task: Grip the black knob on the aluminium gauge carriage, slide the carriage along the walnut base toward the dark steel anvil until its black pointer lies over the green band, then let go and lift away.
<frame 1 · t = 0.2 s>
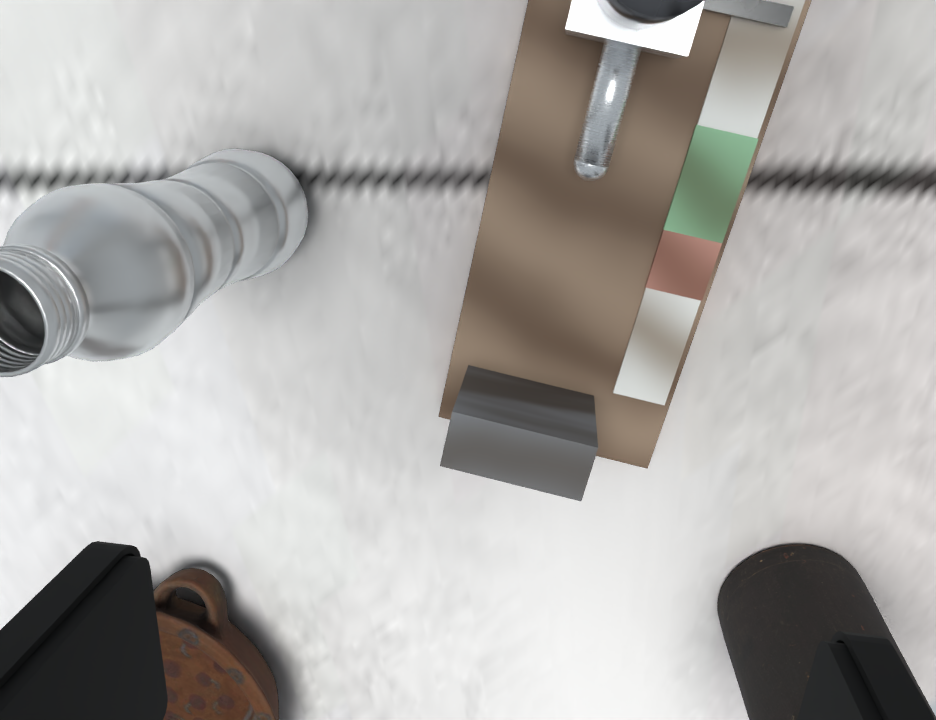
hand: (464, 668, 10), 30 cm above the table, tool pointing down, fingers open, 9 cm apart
plastic bottle: (261, 206, 40), on the table
container: (787, 595, 44), on the table
dish: (189, 670, 53), on the table
gauge base: (610, 190, 37), on the table
gauge carriage: (691, 21, 27), point 7 cm above the table, slide at 0.0 cm
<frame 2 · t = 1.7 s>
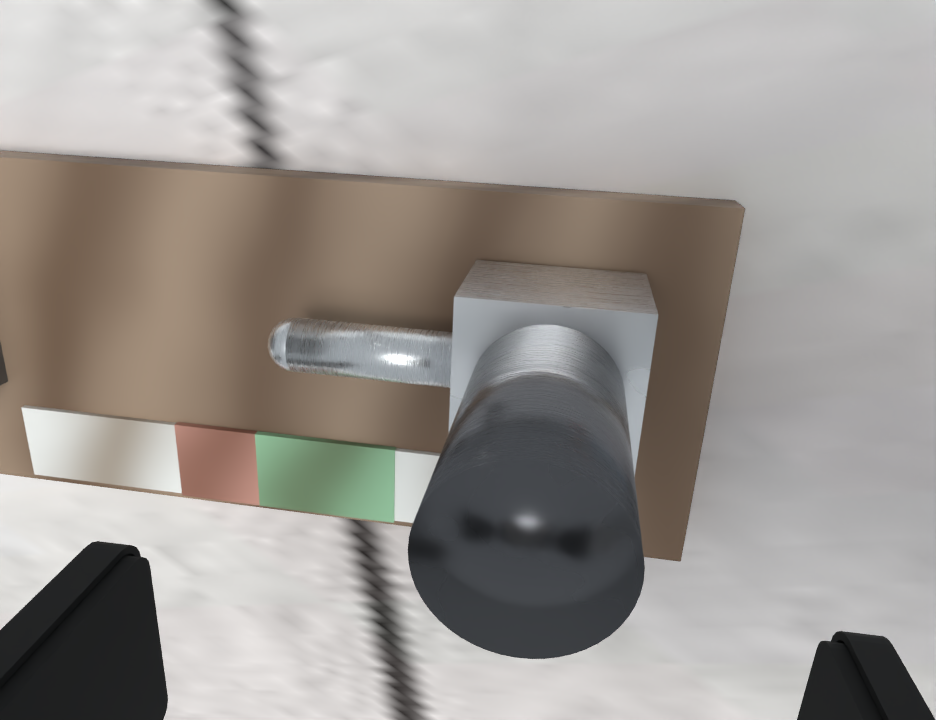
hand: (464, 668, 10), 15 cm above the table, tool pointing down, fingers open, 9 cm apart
gauge base: (297, 343, 26), on the table
gauge carriage: (479, 490, 18), point 7 cm above the table, slide at 0.0 cm
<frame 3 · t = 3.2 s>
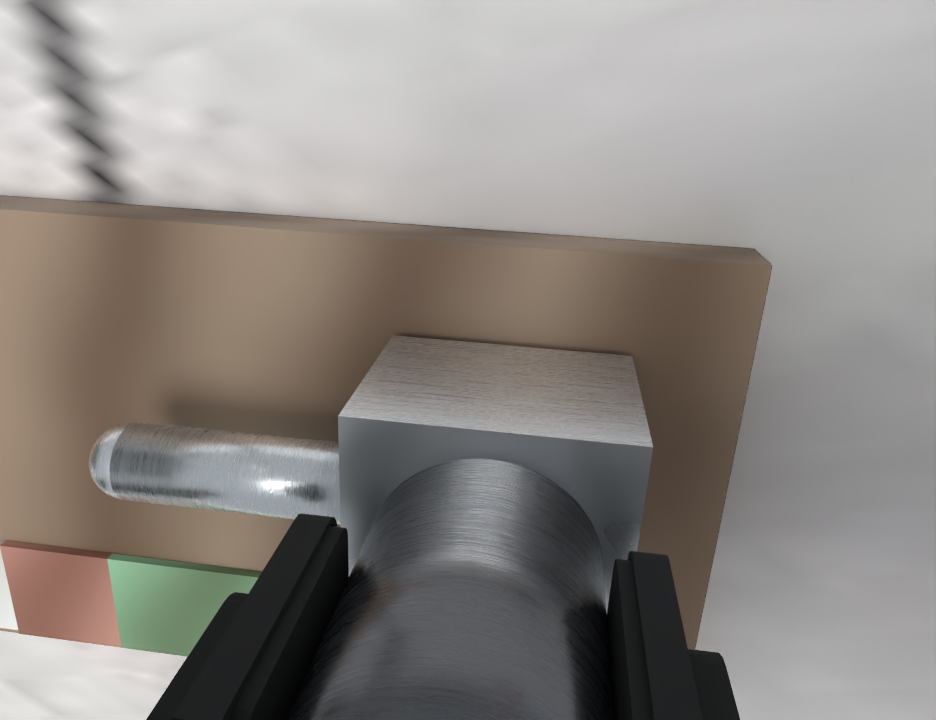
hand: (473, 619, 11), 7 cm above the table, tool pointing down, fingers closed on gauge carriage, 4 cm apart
gauge base: (167, 433, 19), on the table
gauge carriage: (382, 713, 12), point 7 cm above the table, slide at 0.0 cm, touching gripper
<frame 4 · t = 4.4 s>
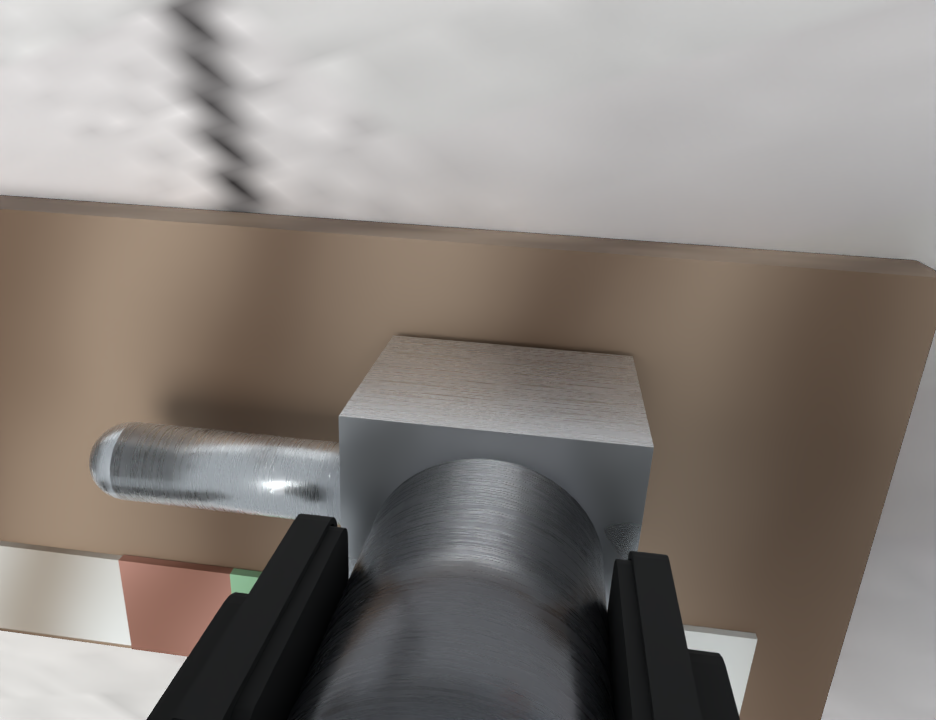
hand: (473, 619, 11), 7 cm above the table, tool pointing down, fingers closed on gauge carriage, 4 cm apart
gauge base: (287, 446, 19), on the table
gauge carriage: (382, 713, 12), point 7 cm above the table, slide at 3.3 cm, touching gripper
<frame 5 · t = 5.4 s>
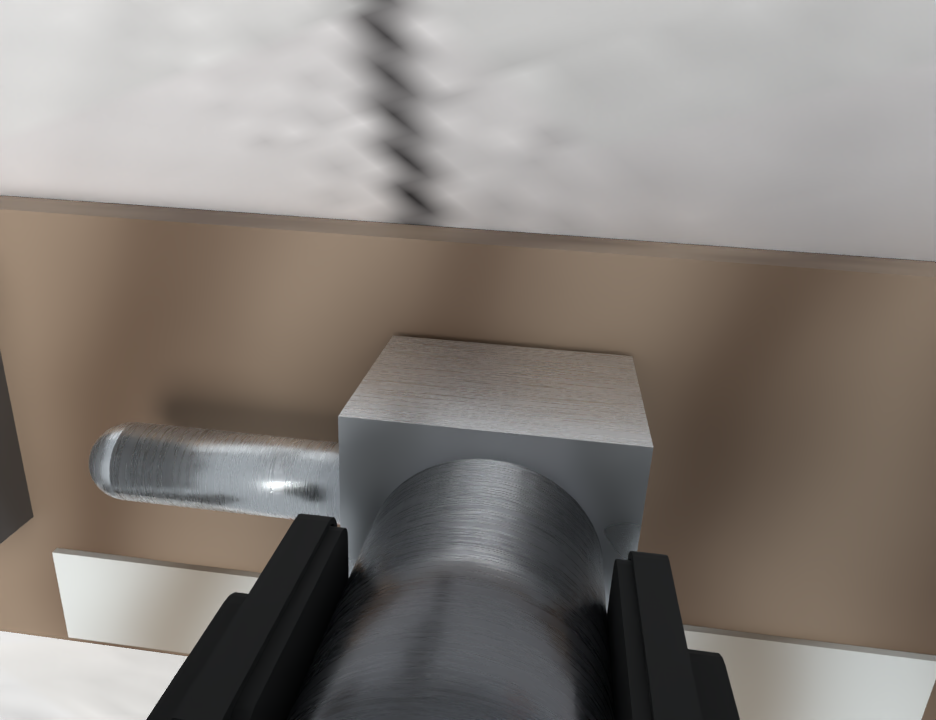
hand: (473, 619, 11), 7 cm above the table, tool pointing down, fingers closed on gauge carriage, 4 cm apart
gauge base: (444, 462, 19), on the table
gauge carriage: (382, 713, 12), point 7 cm above the table, slide at 7.4 cm, touching gripper
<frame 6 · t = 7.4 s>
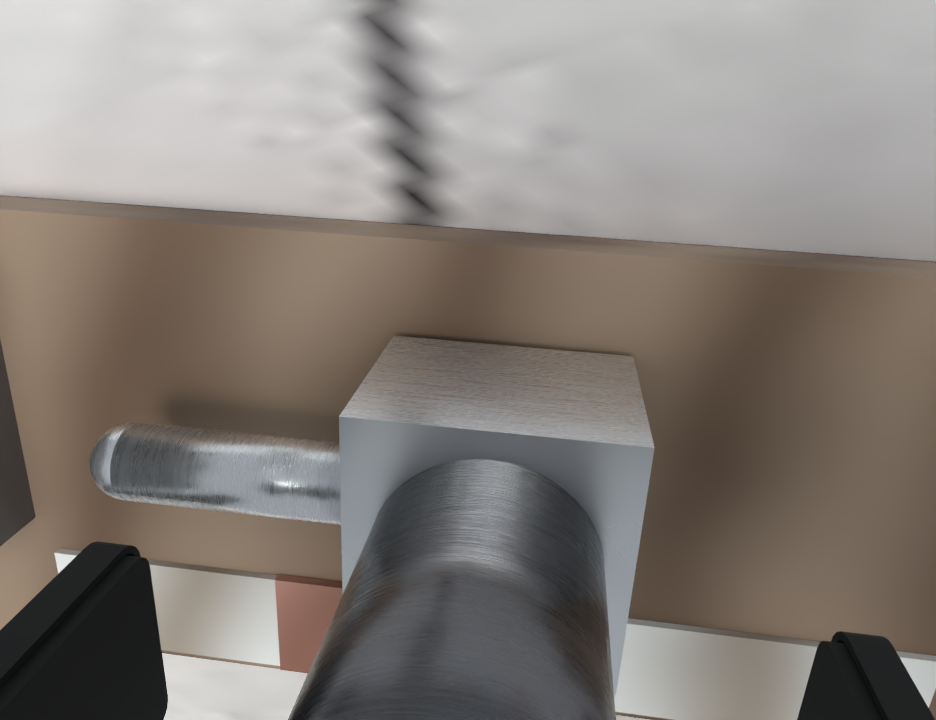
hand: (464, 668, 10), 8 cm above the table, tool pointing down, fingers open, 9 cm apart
gauge base: (446, 462, 19), on the table
gauge carriage: (382, 713, 12), point 7 cm above the table, slide at 7.5 cm
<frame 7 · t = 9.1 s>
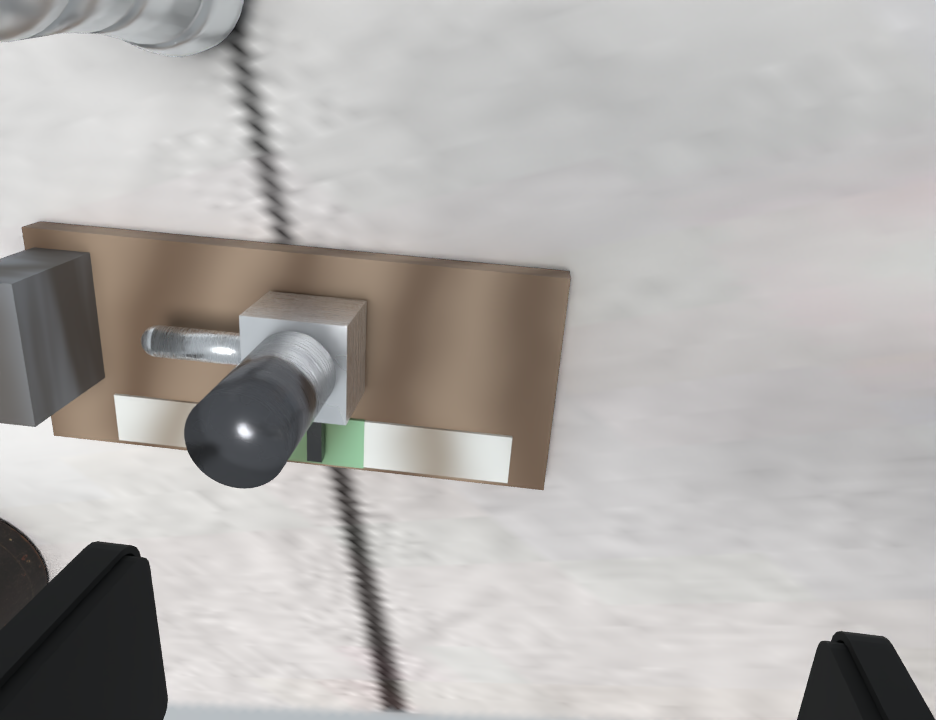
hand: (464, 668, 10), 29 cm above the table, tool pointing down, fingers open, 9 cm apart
gauge base: (300, 353, 40), on the table
gauge carriage: (254, 422, 34), point 7 cm above the table, slide at 7.5 cm
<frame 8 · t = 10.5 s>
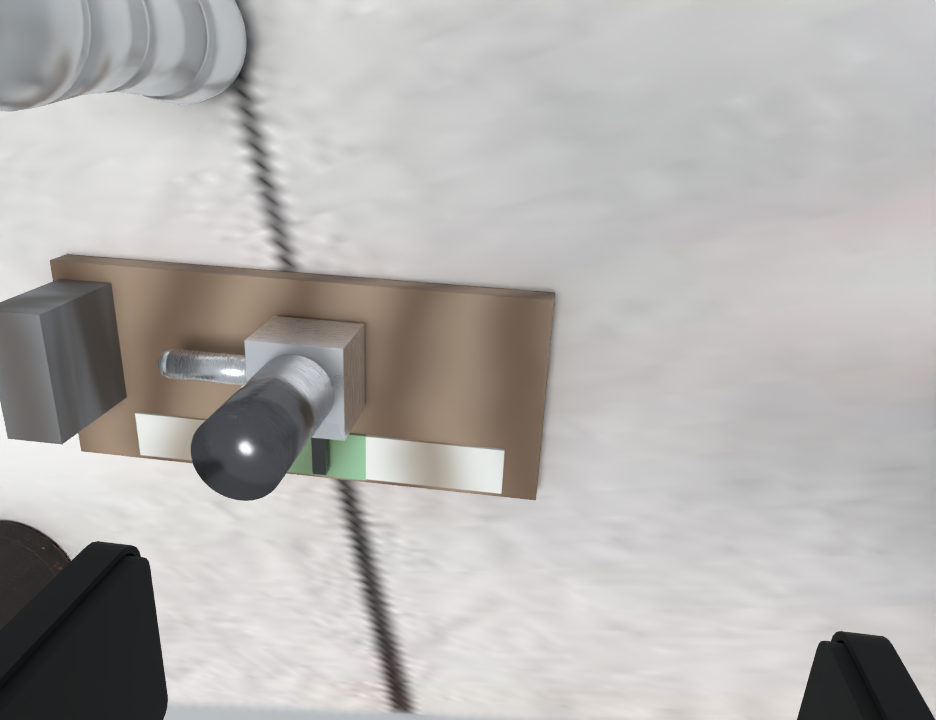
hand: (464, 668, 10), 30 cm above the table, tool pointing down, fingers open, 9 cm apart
plastic bottle: (199, 33, 37), on the table
container: (26, 568, 51), on the table
gauge base: (306, 372, 43), on the table
gauge carriage: (259, 438, 36), point 7 cm above the table, slide at 7.5 cm
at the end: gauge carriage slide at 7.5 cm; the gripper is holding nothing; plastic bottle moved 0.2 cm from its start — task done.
